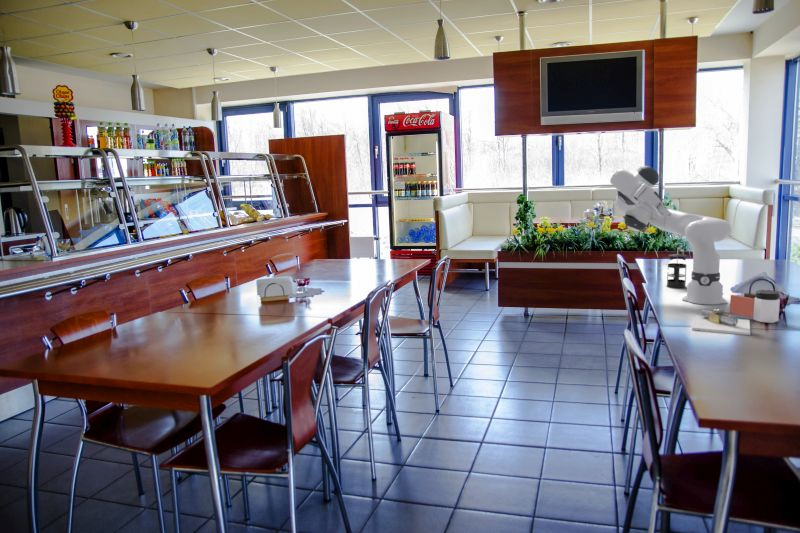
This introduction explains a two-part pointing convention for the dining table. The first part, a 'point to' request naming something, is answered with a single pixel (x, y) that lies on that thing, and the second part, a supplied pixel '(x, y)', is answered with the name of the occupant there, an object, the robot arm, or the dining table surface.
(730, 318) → the valve body
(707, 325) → the mounting plate
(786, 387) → the dining table surface
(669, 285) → the french press
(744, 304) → the lever
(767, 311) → the jar
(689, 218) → the robot arm
